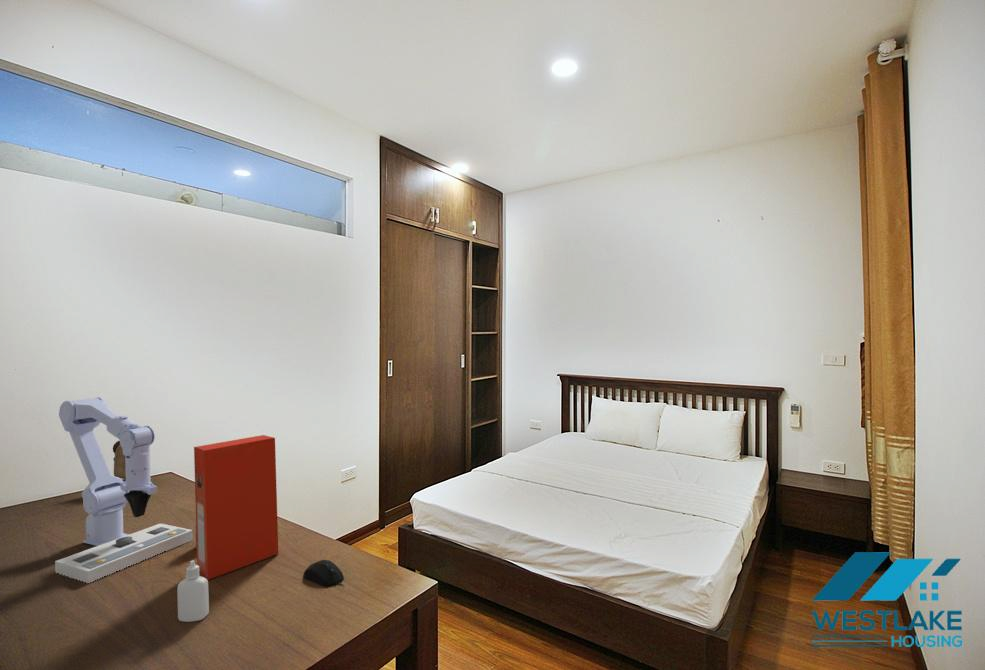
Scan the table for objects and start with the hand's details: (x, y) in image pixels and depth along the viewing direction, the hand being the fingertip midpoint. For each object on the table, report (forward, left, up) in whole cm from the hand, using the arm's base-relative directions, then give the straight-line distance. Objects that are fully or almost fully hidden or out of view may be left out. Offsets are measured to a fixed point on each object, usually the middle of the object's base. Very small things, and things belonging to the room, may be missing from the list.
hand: (139, 515), depth 136 cm
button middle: (+2, -5, -7) cm, 8 cm away
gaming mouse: (+66, +5, -9) cm, 67 cm away
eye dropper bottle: (+50, -18, -9) cm, 54 cm away
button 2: (+2, +4, -8) cm, 9 cm away
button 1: (+2, -14, -8) cm, 16 cm away
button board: (+4, -5, -9) cm, 11 cm away
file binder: (+37, +3, -9) cm, 38 cm away
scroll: (-63, +31, -9) cm, 71 cm away
